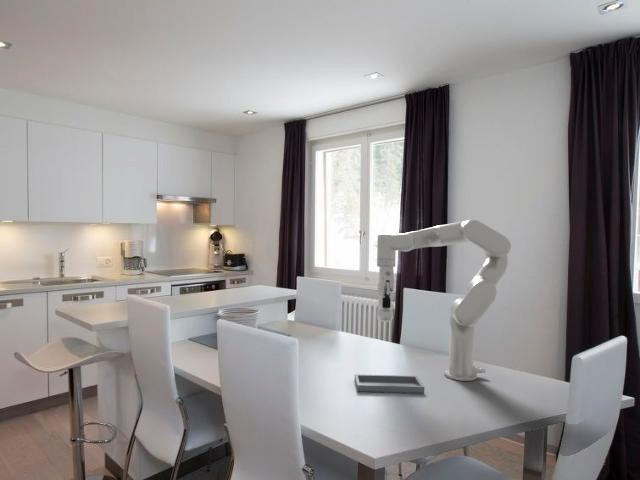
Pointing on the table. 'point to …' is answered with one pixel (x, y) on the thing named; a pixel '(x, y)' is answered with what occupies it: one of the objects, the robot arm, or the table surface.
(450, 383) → the table surface
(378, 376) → the grey rectangular tray
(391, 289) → the robot arm
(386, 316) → the plastic bottle
